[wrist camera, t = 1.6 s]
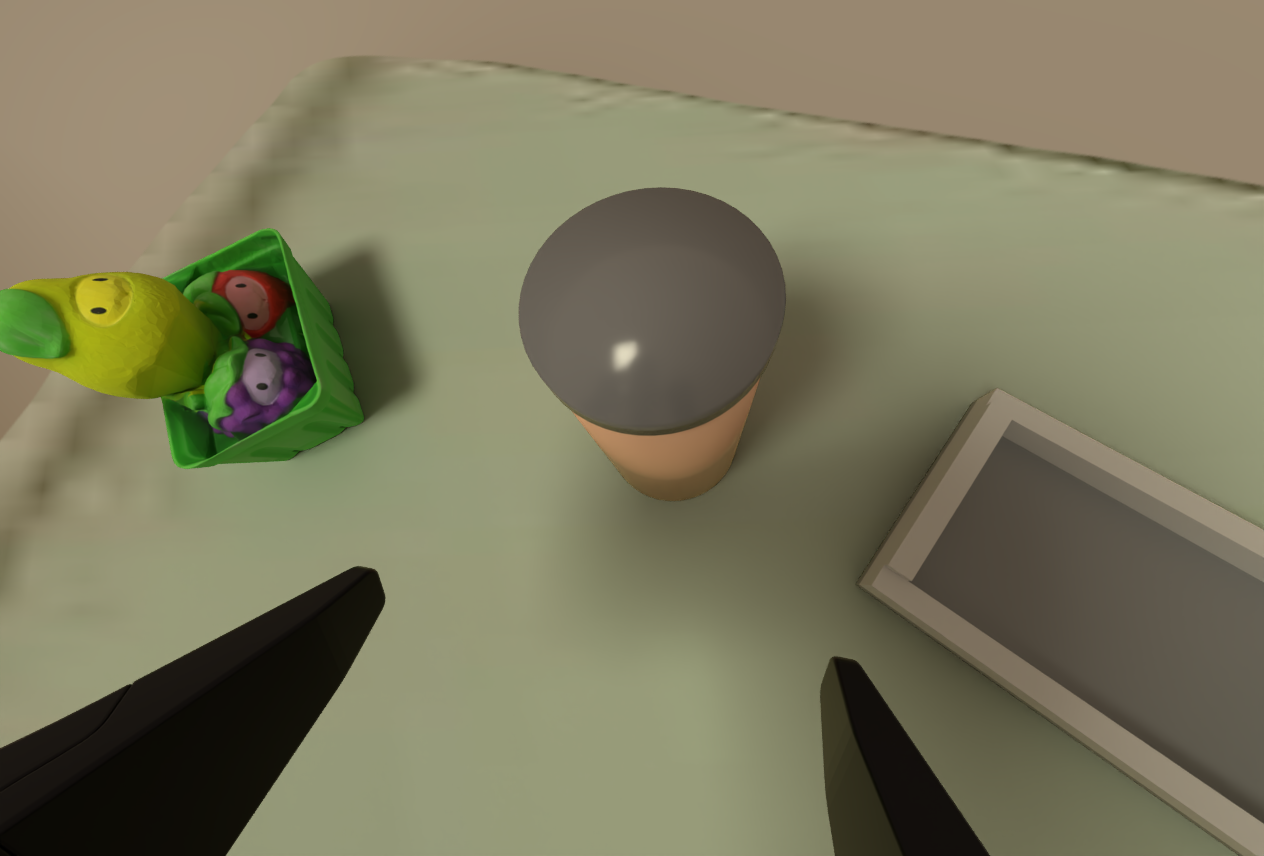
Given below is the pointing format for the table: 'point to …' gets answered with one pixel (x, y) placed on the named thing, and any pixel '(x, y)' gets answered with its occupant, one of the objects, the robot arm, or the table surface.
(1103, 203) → the table surface
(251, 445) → the fruit basket
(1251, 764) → the lane
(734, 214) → the jar
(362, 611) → the robot arm
